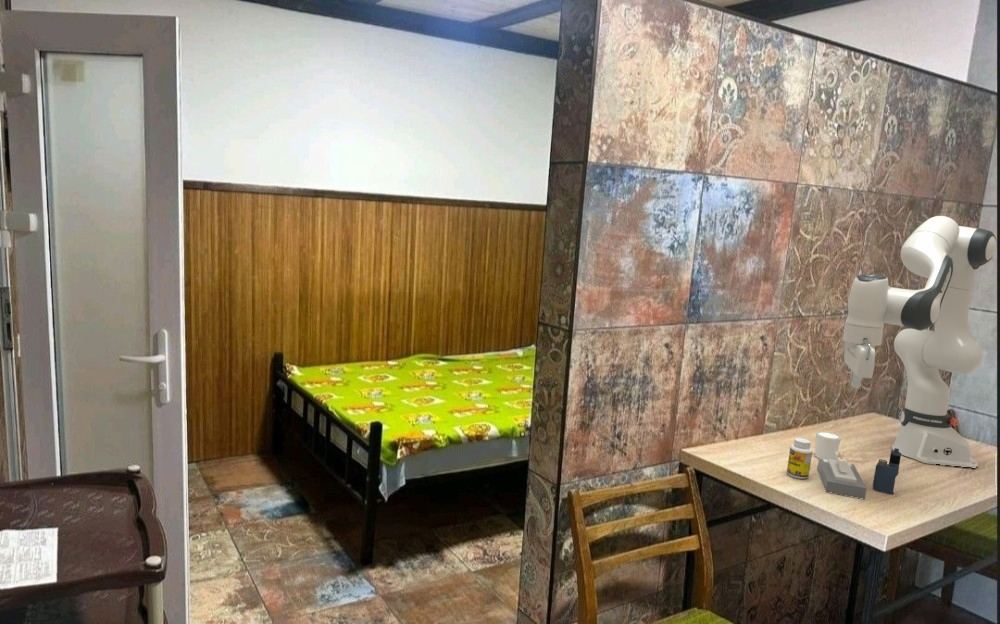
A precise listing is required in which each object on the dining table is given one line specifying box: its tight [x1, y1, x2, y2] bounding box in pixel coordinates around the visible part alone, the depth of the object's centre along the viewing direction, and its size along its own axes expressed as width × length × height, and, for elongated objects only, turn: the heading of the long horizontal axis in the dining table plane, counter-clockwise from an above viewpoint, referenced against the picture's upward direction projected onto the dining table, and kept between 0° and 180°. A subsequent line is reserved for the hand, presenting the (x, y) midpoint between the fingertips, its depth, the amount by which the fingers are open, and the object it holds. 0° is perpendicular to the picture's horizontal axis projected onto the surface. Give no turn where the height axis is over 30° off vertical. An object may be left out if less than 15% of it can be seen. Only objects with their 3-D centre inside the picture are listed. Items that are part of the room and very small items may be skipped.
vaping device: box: [872, 448, 902, 495], centre depth 173 cm, size 3×5×12 cm, turn 58°
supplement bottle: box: [786, 437, 813, 480], centre depth 180 cm, size 6×6×10 cm
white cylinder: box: [814, 431, 842, 460], centre depth 197 cm, size 7×7×7 cm
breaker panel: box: [816, 458, 867, 500], centre depth 177 cm, size 9×18×4 cm, turn 161°
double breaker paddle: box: [835, 450, 848, 472], centre depth 177 cm, size 2×8×3 cm, turn 161°
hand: (854, 387), depth 174 cm, fingers closed
